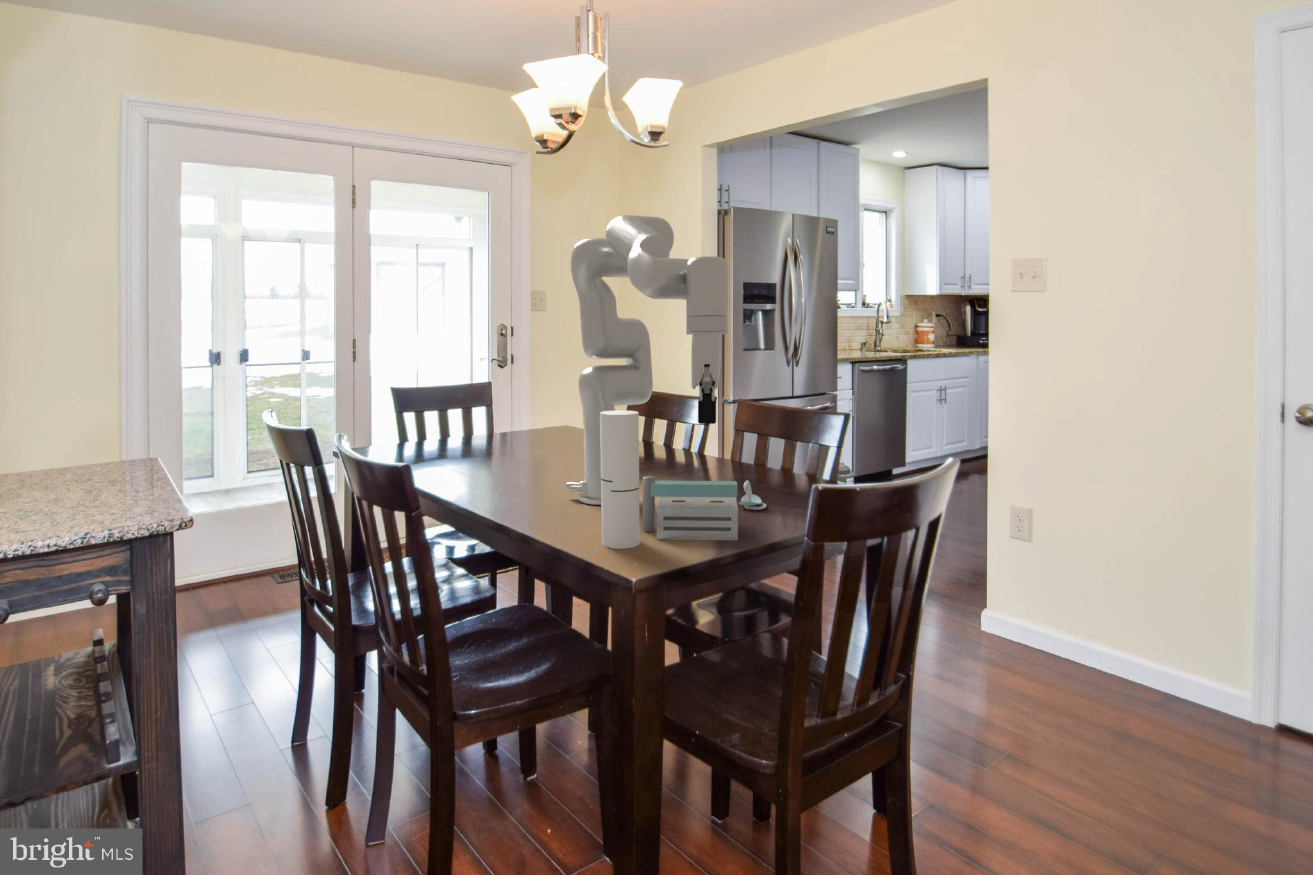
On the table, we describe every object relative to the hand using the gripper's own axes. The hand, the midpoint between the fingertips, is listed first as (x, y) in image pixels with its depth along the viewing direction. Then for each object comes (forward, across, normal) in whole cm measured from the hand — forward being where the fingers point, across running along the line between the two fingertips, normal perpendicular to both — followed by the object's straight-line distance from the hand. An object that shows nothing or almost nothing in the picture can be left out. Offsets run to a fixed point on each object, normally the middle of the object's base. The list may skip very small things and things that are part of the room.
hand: (707, 420), depth 148 cm
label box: (+23, -9, -2) cm, 25 cm away
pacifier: (+24, -31, +10) cm, 40 cm away
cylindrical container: (+24, 0, -16) cm, 29 cm away
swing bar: (+23, -9, -3) cm, 25 cm away
